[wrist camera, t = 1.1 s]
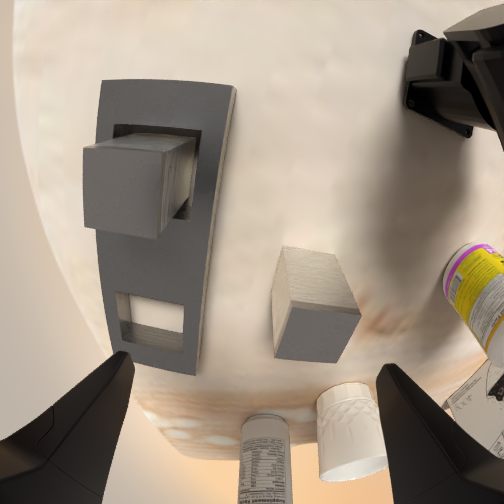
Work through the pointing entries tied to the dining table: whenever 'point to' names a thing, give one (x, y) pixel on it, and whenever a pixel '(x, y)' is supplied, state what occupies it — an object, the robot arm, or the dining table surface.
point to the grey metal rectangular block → (136, 182)
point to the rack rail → (177, 230)
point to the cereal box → (482, 407)
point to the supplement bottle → (479, 295)
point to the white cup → (349, 433)
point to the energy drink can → (265, 461)
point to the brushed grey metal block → (311, 307)
